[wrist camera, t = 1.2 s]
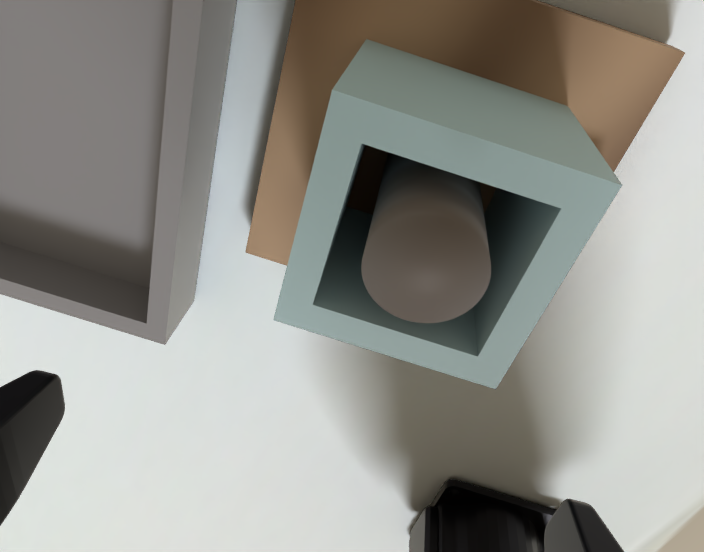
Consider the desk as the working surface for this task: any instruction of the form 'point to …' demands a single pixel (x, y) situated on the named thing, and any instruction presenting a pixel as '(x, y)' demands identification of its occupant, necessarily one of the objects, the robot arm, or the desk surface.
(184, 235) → the tray
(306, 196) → the sleeve
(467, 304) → the stake
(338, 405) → the desk surface
